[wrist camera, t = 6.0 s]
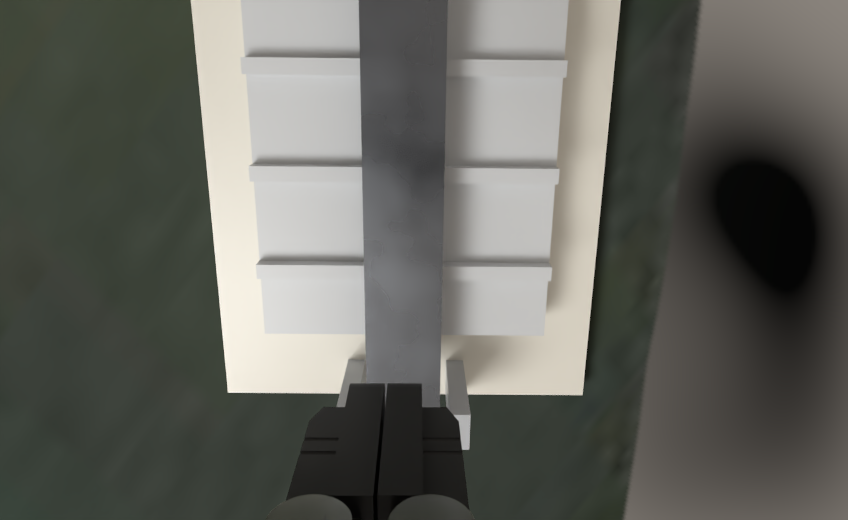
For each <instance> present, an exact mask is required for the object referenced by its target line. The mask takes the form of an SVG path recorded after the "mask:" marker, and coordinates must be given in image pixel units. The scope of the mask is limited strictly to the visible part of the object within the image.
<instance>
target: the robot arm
mask: <svg viewBox="0 0 848 520" xmlns="http://www.w3.org/2000/svg"><path fill="white" fill-rule="evenodd" d="M266 520H475V519H474V517H473V515H472V514H471V512H470V510H469V505H468V497H467V488H466V479H465V471H464V462H463V455H462V445H461V436H460V427H459V421H458V420H457V419H456V417H455V416H454V415H453V414H452V413H451V411H450V410H449V409H448V408H447V407H422V383H388V384H387V394H386V405H385V383H350V385H349V390H348V395H347V400H346V405H345V407H323V408H322V409H321V410H320V411H319V412H318V413H317V414H316V415H315V416H314V417H313V418H312V419H311V420H310V421H309V424H308V427H307V431H306V434H305V439H304V441H303V444H302V448H301V453H300V455H299V458H298V461H297V465H296V468H295V472H294V475H293V478H292V482H291V485H290V489H289V492H288V495H287V499H286V501H285V502H283V503H281V504H280V505H278V506H277V507H275V508H274V509H273V510H272V511H271V512H270V513H269V515H268V516H267V518H266Z"/></svg>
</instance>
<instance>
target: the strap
mask: <svg viewBox="0 0 848 520" xmlns="http://www.w3.org/2000/svg"><path fill="white" fill-rule="evenodd" d="M447 19H448V0H359V42H360V92H361V143H362V193H363V243H364V293H365V344H366V383H385V405H386V394H387V384H388V383H422V407H440V370H441V320H442V270H443V219H444V169H445V119H446V69H447Z"/></svg>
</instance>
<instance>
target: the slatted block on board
mask: <svg viewBox="0 0 848 520" xmlns="http://www.w3.org/2000/svg"><path fill="white" fill-rule="evenodd" d="M620 4H621V0H448V19H447V69H446V119H445V169H444V219H443V270H442V320H441V370H440V394H446V407H447V408H448V409H449V410H450V411H451V413H452V414H453V415H454V416H455V417H456V419H457V420H458V421H459V427H460V436H461V445H462V450H469V442H470V408H469V401H468V394H497V395H583V385H584V374H585V364H586V354H587V343H588V333H589V323H590V313H591V302H592V292H593V282H594V271H595V261H596V251H597V241H598V230H599V220H600V210H601V199H602V189H603V179H604V169H605V158H606V148H607V138H608V127H609V117H610V107H611V97H612V86H613V76H614V66H615V55H616V45H617V35H618V24H619V14H620ZM191 6H192V17H193V27H194V38H195V48H196V59H197V69H198V80H199V90H200V101H201V112H202V122H203V133H204V143H205V154H206V164H207V175H208V185H209V196H210V207H211V217H212V228H213V238H214V249H215V259H216V270H217V280H218V291H219V301H220V312H221V323H222V333H223V344H224V354H225V365H226V375H227V386H228V393H340V395H339V399H338V403H337V407H345V405H346V400H347V395H348V390H349V385H350V383H366V344H365V293H364V243H363V193H362V143H361V92H360V42H359V0H191Z"/></svg>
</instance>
